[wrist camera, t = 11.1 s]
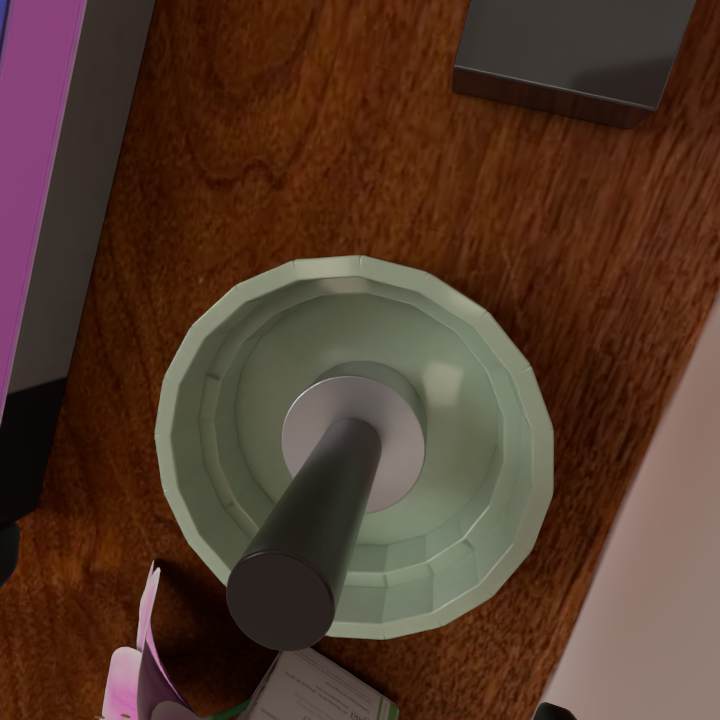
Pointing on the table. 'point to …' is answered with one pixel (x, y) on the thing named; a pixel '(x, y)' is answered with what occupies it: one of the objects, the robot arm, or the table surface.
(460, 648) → the table surface
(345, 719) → the syrup box
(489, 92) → the pole stand base
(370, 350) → the bowl
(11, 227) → the book
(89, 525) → the table surface
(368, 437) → the black post
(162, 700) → the lily
